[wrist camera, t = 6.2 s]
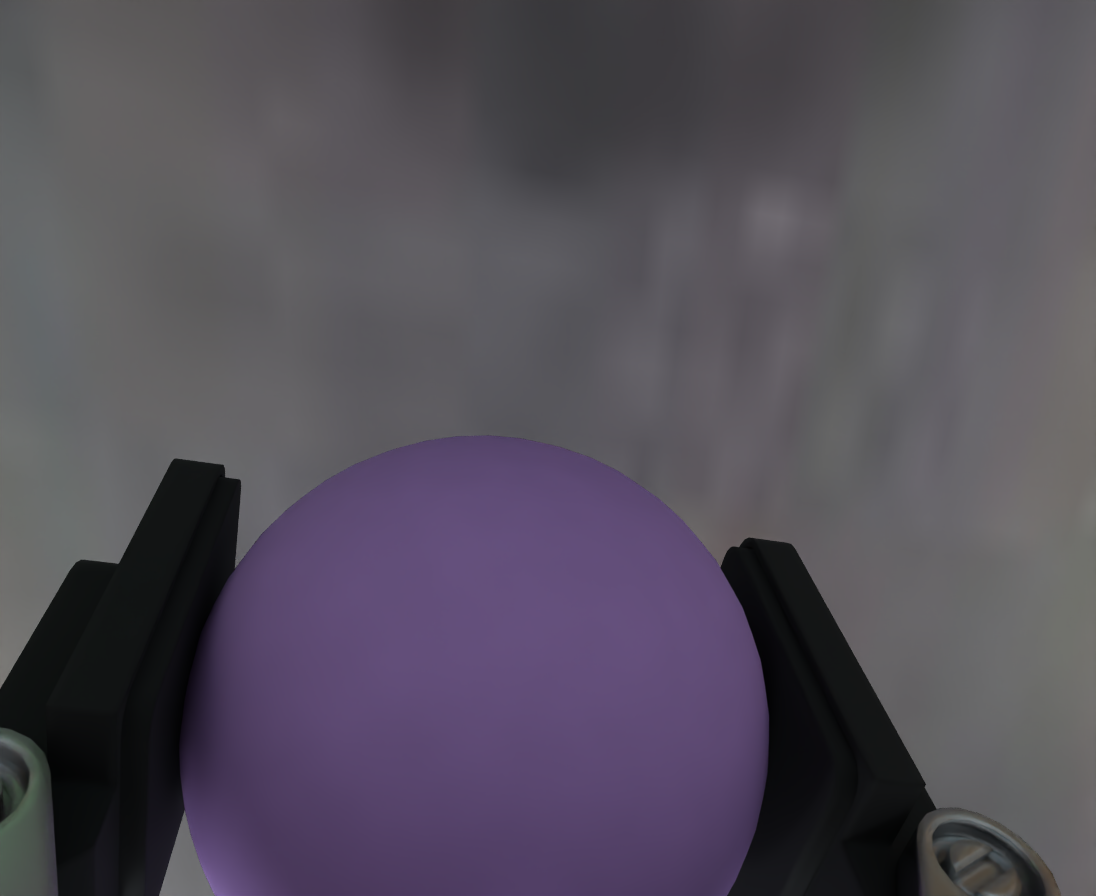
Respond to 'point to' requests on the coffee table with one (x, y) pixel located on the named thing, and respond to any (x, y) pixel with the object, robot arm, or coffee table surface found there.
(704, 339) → the coffee table surface
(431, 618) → the ball
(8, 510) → the coffee table surface
